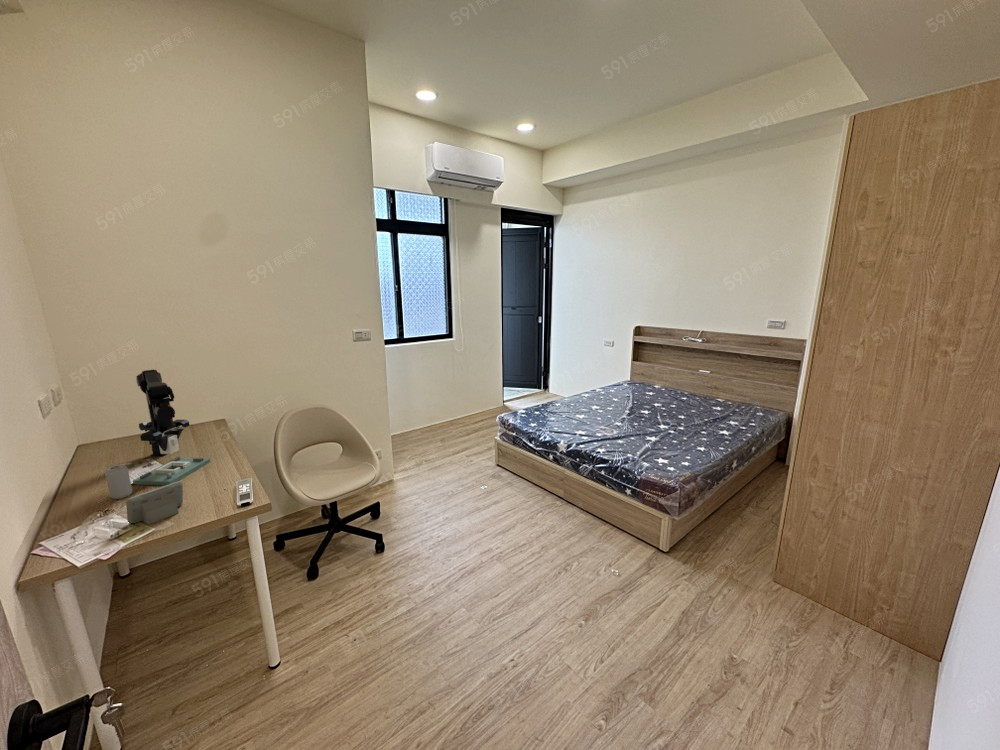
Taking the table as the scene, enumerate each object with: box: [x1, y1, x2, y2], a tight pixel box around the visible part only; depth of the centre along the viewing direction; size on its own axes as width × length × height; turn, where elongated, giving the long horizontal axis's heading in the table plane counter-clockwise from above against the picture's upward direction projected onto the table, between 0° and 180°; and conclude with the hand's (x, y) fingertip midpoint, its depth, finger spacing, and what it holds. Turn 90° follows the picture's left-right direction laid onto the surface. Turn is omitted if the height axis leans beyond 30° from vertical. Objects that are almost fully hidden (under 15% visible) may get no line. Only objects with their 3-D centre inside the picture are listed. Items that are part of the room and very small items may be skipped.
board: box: [132, 456, 211, 486], centre depth 176 cm, size 22×16×3 cm
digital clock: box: [125, 481, 184, 525], centre depth 143 cm, size 16×9×11 cm, turn 137°
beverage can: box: [104, 464, 134, 500], centre depth 156 cm, size 6×6×12 cm
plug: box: [159, 434, 180, 455], centre depth 174 cm, size 4×6×7 cm
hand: (169, 448), depth 174 cm, fingers closed on plug, 4 cm apart
